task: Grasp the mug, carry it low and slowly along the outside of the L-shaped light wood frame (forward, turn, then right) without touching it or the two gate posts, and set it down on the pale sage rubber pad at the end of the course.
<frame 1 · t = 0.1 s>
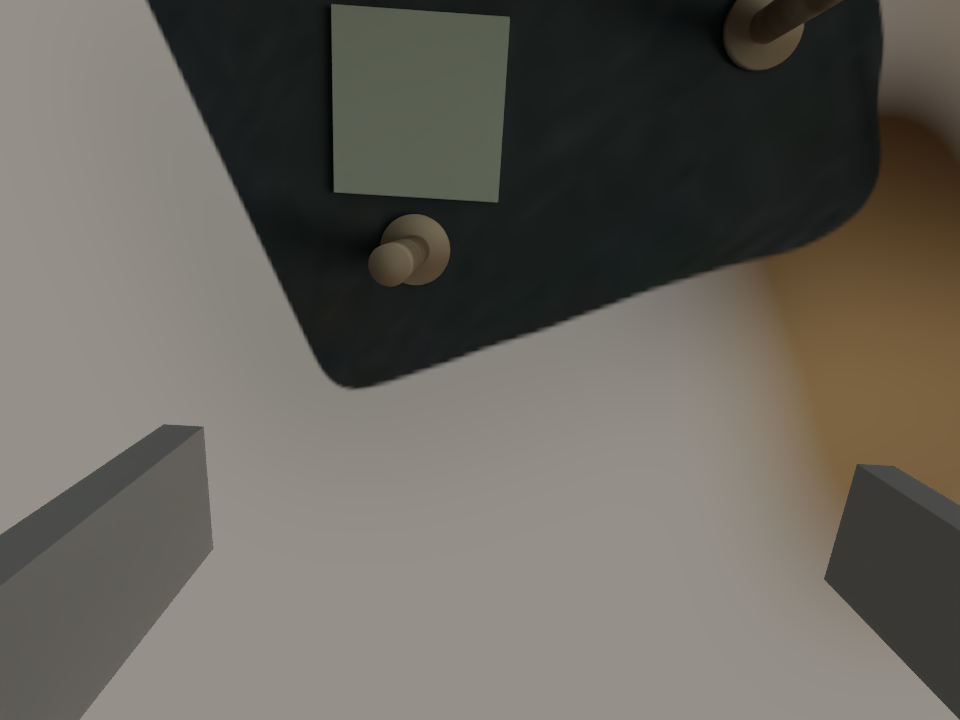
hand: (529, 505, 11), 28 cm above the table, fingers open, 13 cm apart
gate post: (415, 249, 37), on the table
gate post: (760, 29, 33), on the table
pad: (419, 109, 34), on the table
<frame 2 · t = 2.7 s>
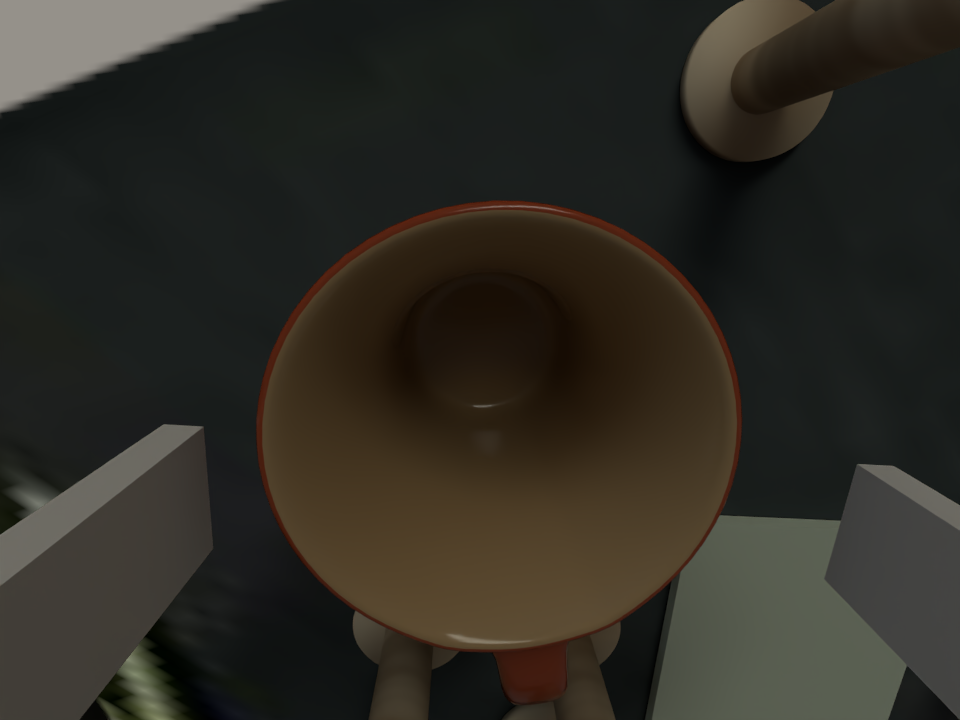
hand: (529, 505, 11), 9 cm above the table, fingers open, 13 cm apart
light wood frame: (561, 621, 23), on the table
mug: (488, 373, 20), on the table
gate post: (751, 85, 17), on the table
pad: (784, 628, 23), on the table
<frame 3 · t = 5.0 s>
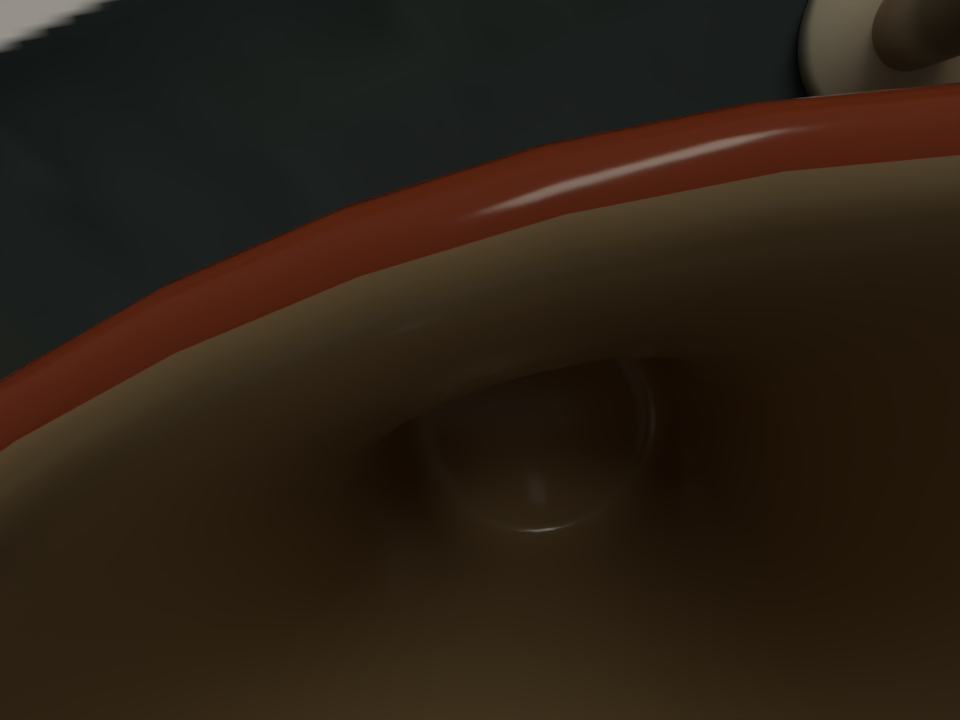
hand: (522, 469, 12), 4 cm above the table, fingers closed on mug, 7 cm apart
mug: (535, 460, 13), point 3 cm above the table, touching gripper
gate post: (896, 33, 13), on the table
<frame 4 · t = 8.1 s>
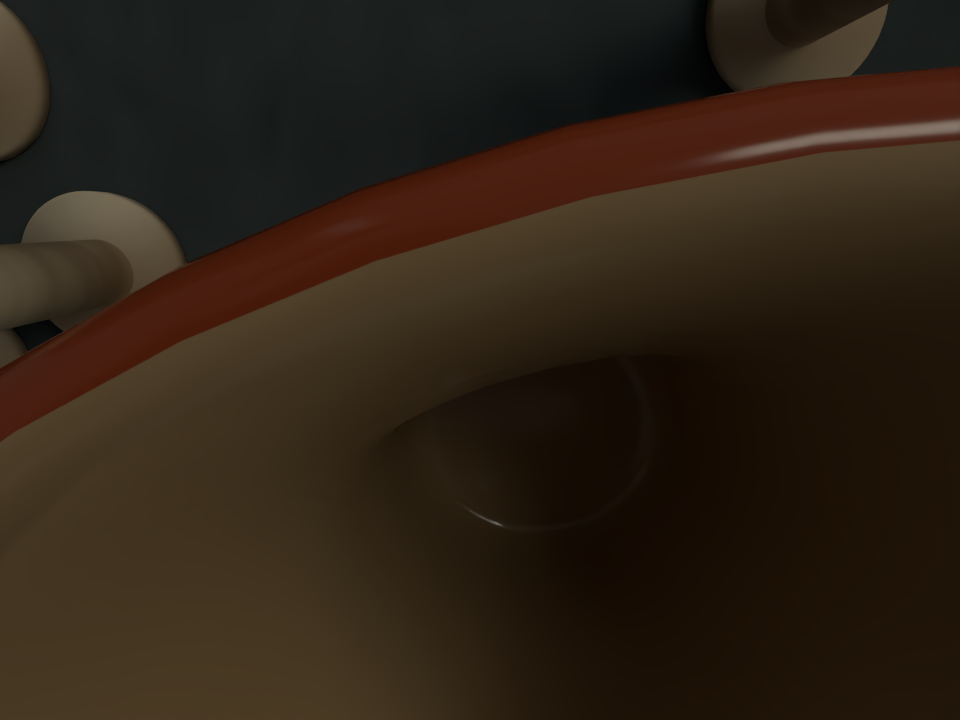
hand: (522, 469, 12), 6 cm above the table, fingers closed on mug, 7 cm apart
light wood frame: (113, 270, 17), on the table
mug: (536, 460, 13), point 6 cm above the table, touching gripper
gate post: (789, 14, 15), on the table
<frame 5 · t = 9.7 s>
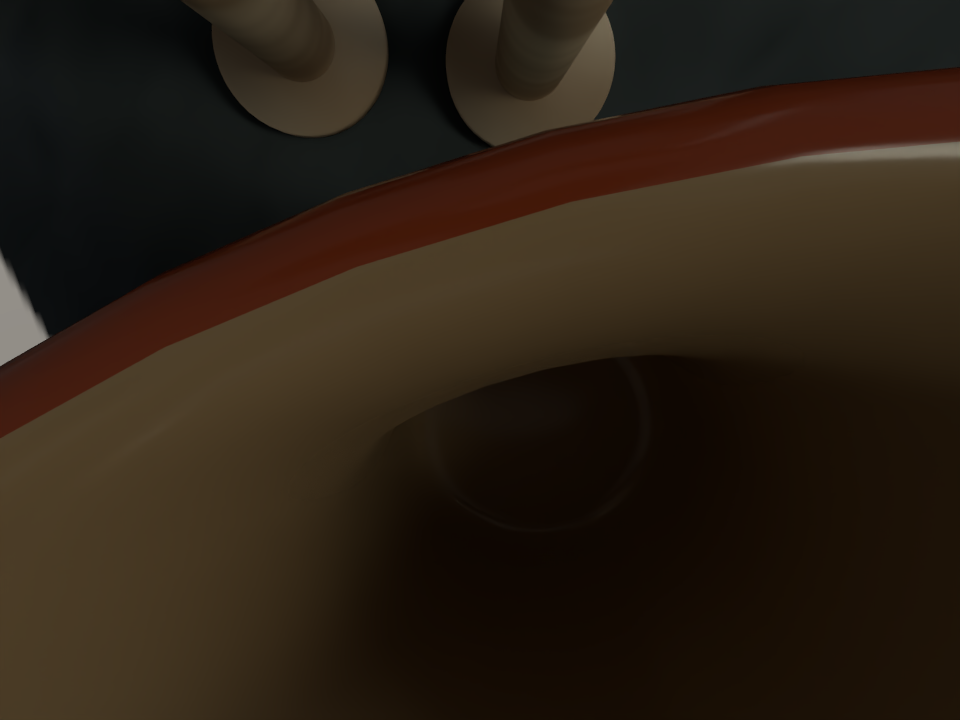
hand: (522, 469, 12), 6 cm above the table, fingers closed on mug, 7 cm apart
light wood frame: (528, 68, 15), on the table
mug: (535, 460, 13), point 6 cm above the table, touching gripper
when the fingers open (1 cm above the table, at t = 11.2 s): mug stays where it is, resting on pad.
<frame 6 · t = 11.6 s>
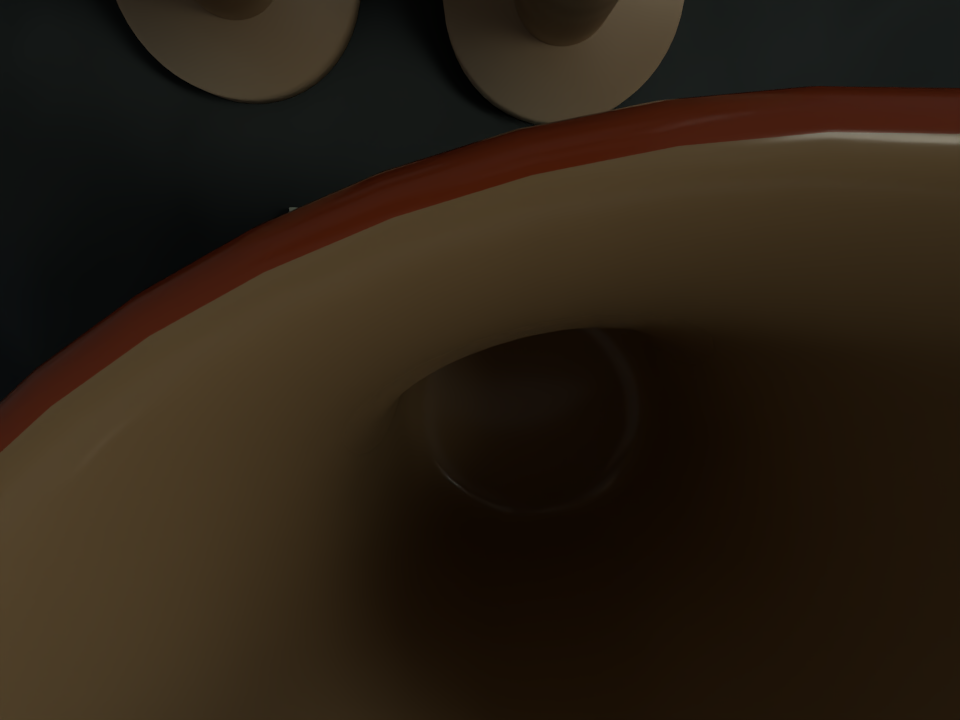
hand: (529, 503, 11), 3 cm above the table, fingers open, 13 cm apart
light wood frame: (559, 1, 11), on the table
mug: (530, 447, 13), resting on pad
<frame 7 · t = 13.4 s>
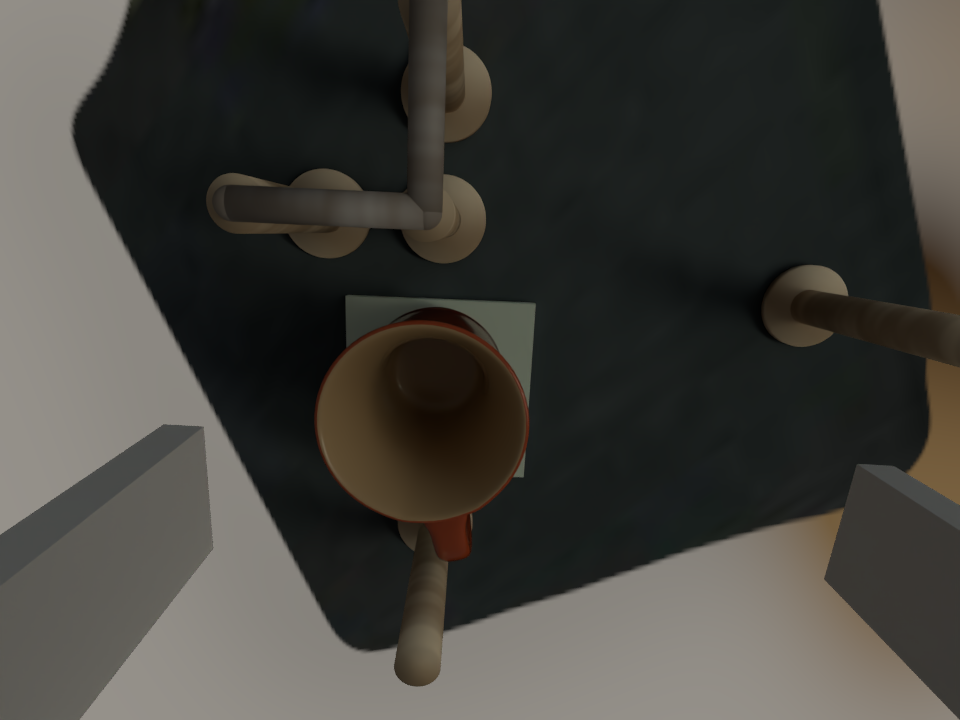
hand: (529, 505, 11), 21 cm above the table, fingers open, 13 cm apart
light wood frame: (443, 219, 30), on the table
mug: (443, 388, 32), resting on pad
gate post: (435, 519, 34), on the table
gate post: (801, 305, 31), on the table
pad: (439, 387, 32), on the table
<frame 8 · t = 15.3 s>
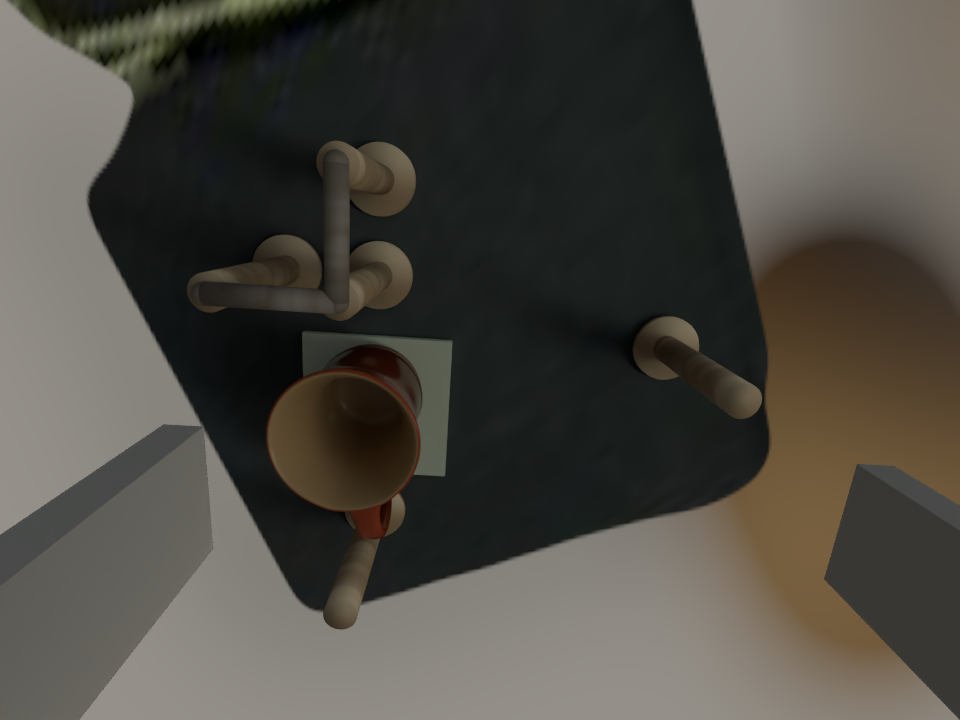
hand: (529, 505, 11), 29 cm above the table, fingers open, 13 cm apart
light wood frame: (379, 274, 38), on the table
mug: (380, 405, 40), resting on pad
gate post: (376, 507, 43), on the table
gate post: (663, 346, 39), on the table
pad: (377, 404, 40), on the table
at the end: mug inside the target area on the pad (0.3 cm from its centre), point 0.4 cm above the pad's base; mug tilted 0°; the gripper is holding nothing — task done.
